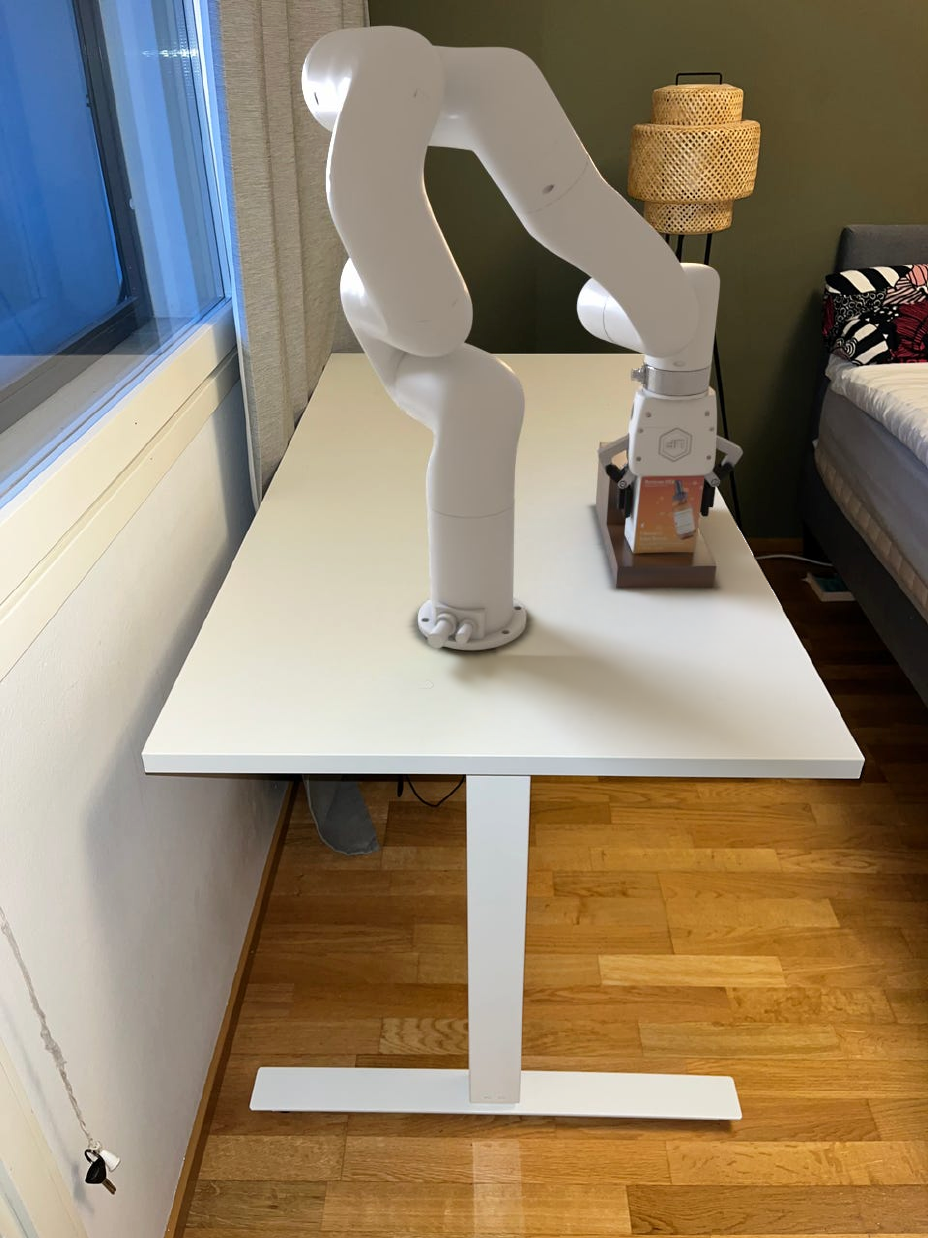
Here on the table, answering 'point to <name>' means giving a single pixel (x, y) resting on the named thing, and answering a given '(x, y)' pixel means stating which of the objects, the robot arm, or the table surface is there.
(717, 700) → the table surface
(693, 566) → the step shelf
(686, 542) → the small box
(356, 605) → the table surface
